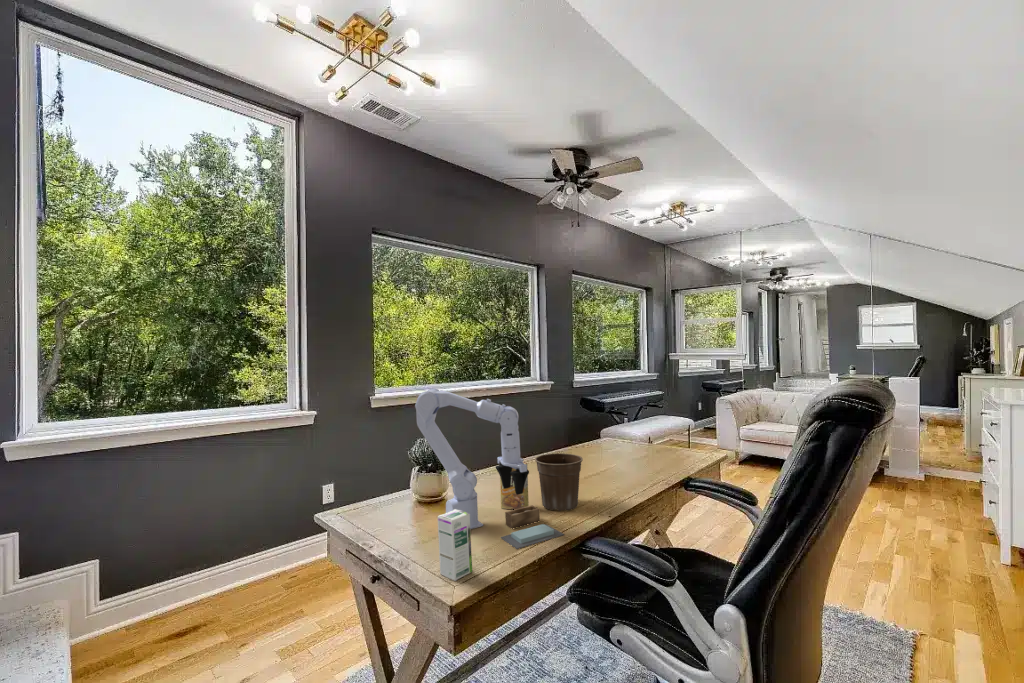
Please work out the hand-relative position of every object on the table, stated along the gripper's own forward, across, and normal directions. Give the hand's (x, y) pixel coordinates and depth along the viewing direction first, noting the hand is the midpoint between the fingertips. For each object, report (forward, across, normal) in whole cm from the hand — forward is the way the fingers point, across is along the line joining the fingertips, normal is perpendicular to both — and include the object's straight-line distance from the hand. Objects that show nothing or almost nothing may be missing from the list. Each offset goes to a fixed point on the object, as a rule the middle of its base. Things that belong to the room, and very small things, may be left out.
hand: (513, 490), depth 141 cm
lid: (+10, -11, 0) cm, 15 cm away
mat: (+10, -11, 0) cm, 15 cm away
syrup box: (+10, -18, +28) cm, 34 cm away
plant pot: (+11, +5, -22) cm, 25 cm away
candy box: (+11, +12, -8) cm, 18 cm away
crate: (+10, -1, -2) cm, 11 cm away
